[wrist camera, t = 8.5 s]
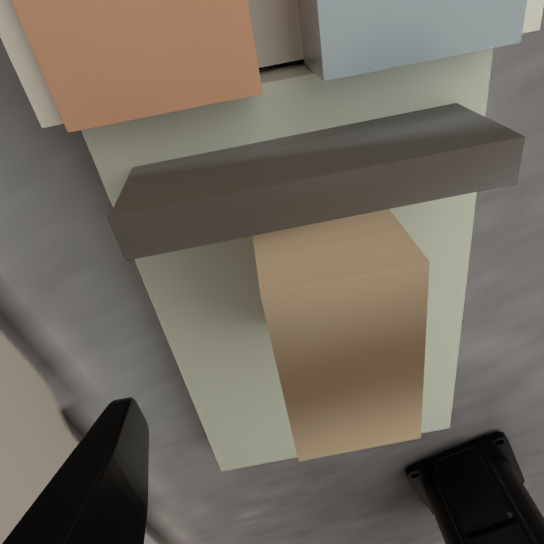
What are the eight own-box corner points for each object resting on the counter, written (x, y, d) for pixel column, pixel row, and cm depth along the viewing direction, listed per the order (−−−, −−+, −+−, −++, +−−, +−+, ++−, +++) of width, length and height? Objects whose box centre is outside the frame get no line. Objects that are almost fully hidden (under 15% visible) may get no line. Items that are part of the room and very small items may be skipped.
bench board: (433, 397, 24) (449, 427, 22) (221, 438, 24) (221, 471, 22) (461, 31, 14) (494, 37, 12) (94, 104, 14) (76, 120, 12)
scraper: (442, 290, 17) (534, 416, 12) (195, 338, 17) (185, 483, 12) (456, 102, 13) (603, 175, 8) (132, 167, 13) (79, 278, 8)
